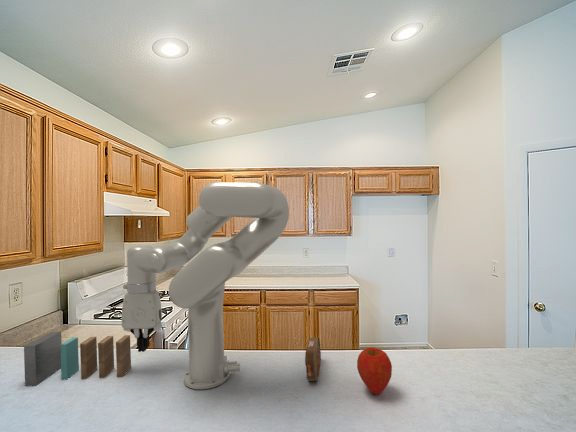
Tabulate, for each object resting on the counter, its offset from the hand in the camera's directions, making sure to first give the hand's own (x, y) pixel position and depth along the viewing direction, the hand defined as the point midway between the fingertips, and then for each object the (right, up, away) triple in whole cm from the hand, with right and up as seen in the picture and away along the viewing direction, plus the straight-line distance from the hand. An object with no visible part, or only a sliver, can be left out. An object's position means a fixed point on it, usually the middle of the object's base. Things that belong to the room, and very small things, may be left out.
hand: (143, 349), depth 89 cm
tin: (+50, -5, -3) cm, 50 cm away
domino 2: (-16, -7, -1) cm, 17 cm away
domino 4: (-6, -7, 0) cm, 9 cm away
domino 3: (-11, -7, 0) cm, 12 cm away
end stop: (-28, -7, -1) cm, 29 cm away
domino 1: (-21, -7, -1) cm, 22 cm away
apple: (+64, -5, -14) cm, 66 cm away
